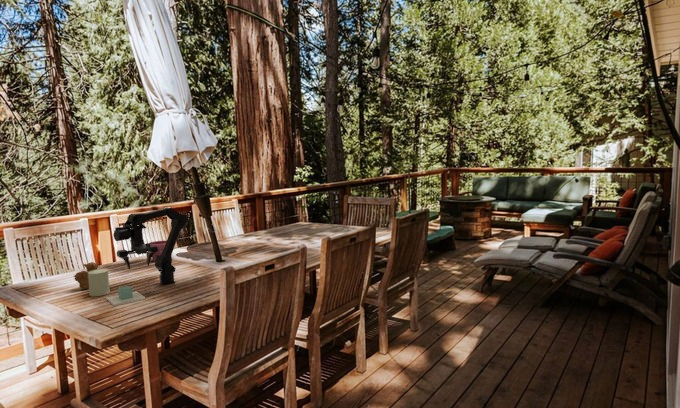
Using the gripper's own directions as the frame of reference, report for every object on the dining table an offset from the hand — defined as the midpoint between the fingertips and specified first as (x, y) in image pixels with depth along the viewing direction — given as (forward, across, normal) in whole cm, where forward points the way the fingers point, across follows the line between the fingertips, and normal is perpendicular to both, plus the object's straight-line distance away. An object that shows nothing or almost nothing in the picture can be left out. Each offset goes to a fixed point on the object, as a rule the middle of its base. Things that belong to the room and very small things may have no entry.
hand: (138, 267), depth 219 cm
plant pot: (+12, +31, +61) cm, 70 cm away
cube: (+11, -10, -11) cm, 18 cm away
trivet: (+12, -10, -11) cm, 19 cm away
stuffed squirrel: (+12, -18, +25) cm, 33 cm away
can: (+12, -17, +9) cm, 23 cm away
